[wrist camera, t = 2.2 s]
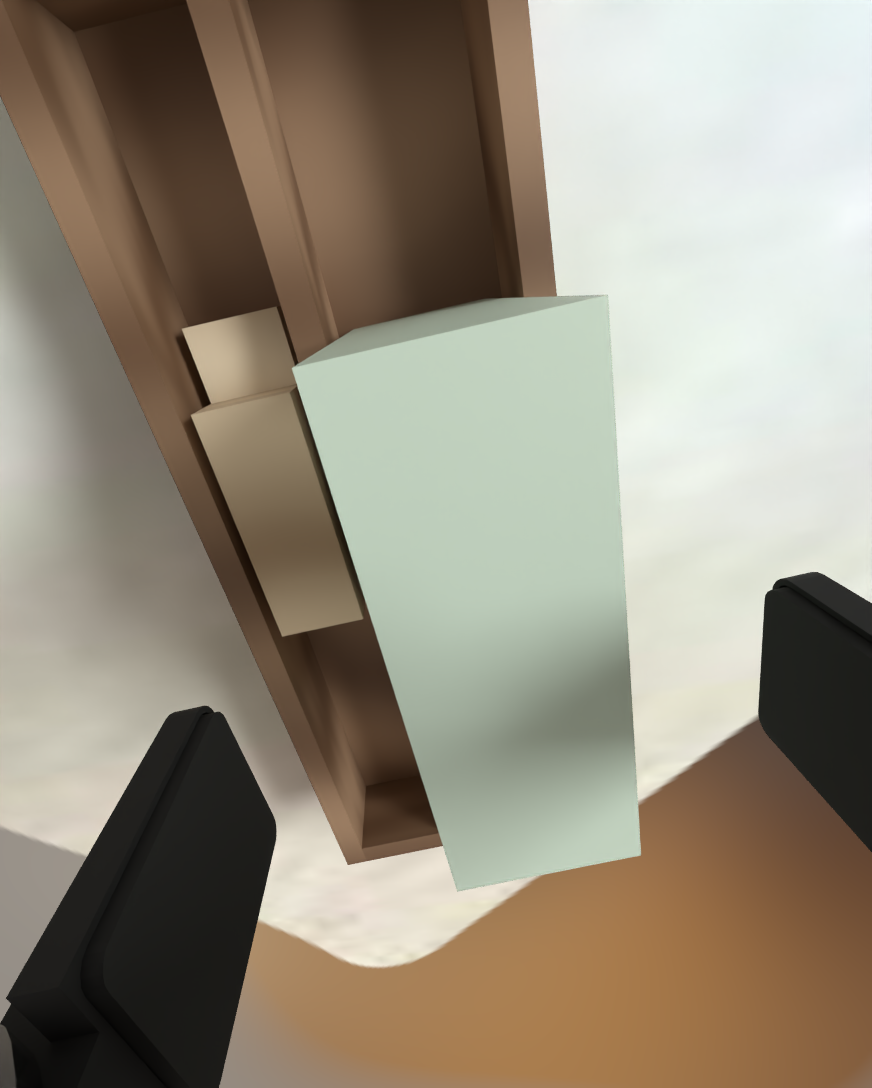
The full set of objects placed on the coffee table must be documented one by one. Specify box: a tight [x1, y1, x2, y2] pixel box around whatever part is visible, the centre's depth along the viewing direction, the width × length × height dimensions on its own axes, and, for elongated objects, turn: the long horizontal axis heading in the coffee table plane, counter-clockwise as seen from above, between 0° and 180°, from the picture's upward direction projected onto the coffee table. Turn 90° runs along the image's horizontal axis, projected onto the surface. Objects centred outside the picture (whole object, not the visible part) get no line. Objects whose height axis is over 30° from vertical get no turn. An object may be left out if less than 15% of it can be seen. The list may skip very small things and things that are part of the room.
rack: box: [0, 0, 557, 865], centre depth 17 cm, size 28×11×4 cm, turn 12°
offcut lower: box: [182, 306, 299, 404], centre depth 16 cm, size 9×3×2 cm, turn 12°
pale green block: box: [292, 295, 641, 892], centre depth 13 cm, size 11×4×10 cm, turn 12°
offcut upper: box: [191, 384, 365, 637], centre depth 15 cm, size 7×3×2 cm, turn 12°
